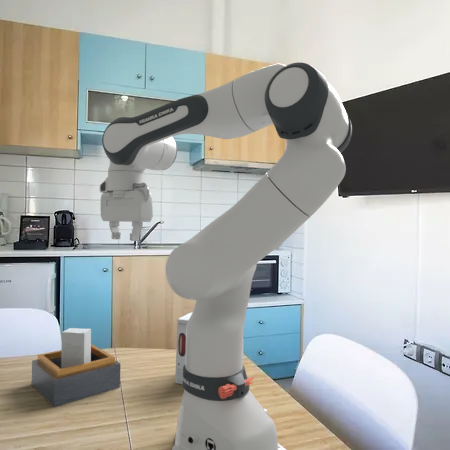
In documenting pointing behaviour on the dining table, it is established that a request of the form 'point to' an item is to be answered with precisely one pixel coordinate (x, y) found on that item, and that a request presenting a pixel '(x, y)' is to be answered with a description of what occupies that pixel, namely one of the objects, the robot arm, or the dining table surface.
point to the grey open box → (74, 376)
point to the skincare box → (75, 347)
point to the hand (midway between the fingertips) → (124, 240)
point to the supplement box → (181, 346)
